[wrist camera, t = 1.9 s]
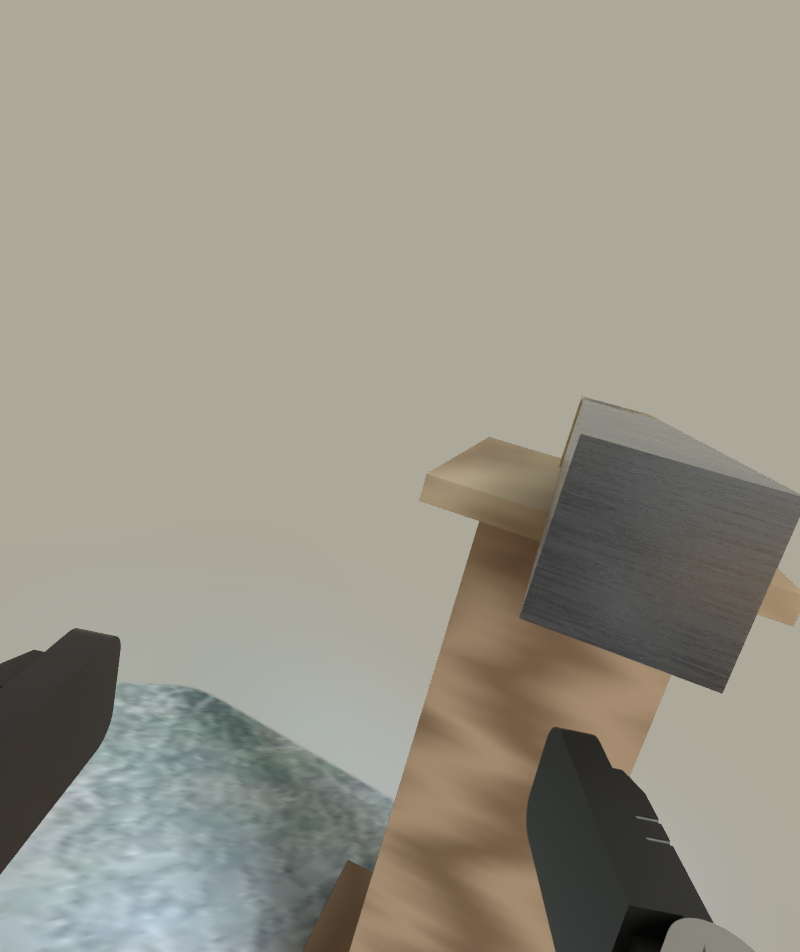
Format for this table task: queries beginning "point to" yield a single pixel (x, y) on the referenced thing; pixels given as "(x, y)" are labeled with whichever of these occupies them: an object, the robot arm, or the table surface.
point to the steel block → (657, 545)
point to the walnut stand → (492, 734)
